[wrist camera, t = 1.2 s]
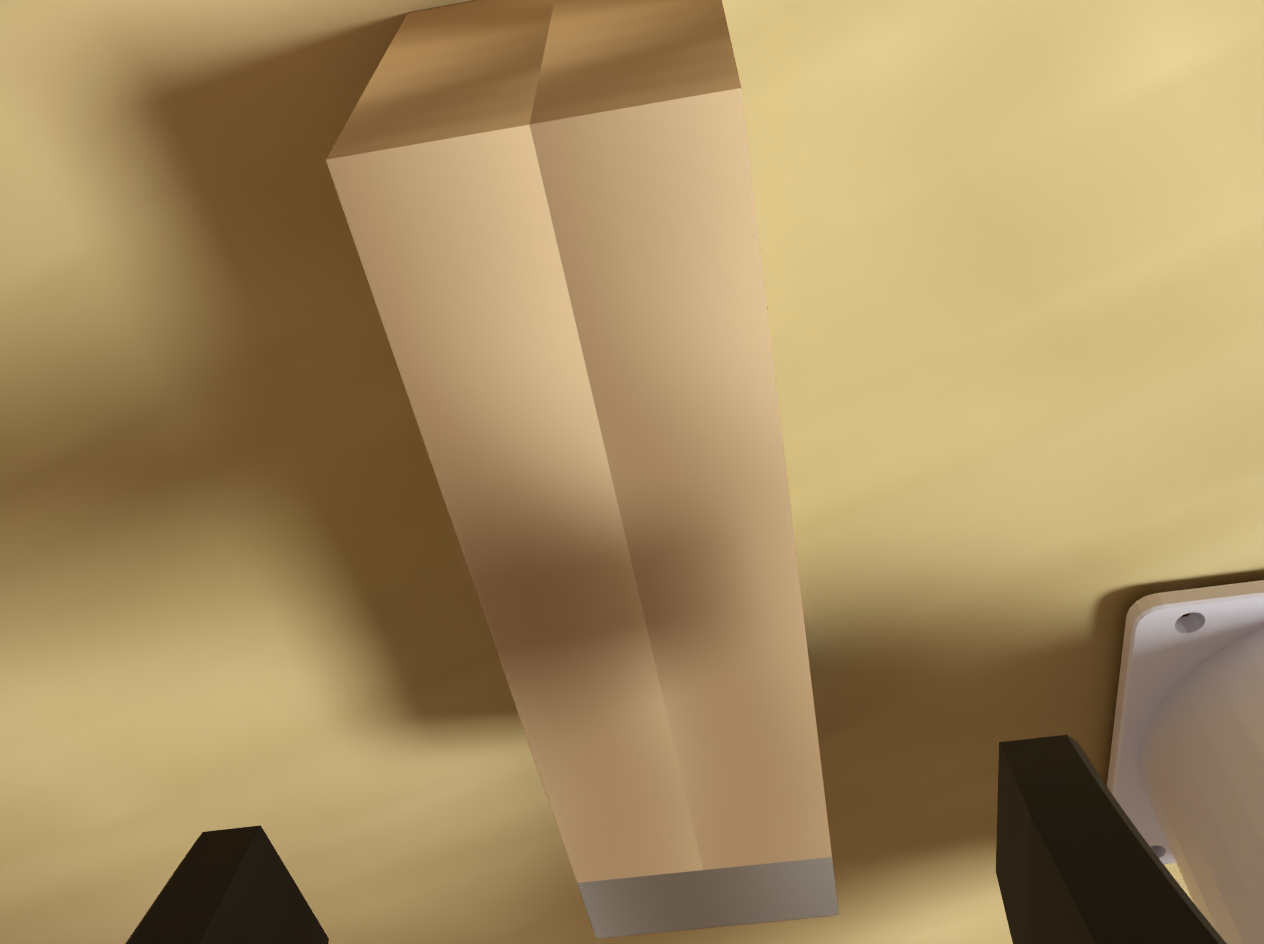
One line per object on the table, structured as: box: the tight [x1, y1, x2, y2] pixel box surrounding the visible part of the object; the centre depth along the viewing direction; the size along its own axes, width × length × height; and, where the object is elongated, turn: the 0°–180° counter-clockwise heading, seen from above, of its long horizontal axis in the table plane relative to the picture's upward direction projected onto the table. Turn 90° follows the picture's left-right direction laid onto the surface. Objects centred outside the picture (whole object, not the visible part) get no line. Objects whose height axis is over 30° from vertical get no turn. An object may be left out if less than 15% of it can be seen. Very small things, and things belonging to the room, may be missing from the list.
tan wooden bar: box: [326, 0, 839, 939], centre depth 17 cm, size 4×14×5 cm, turn 10°
